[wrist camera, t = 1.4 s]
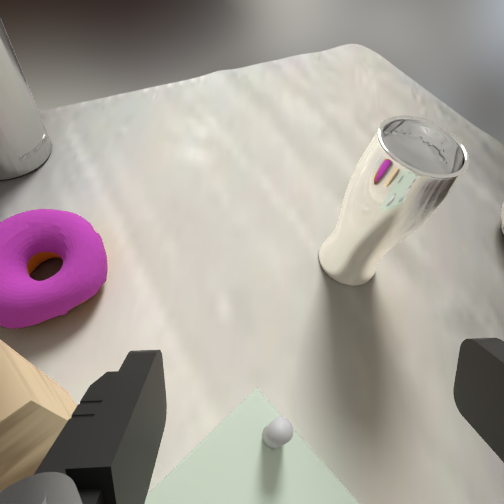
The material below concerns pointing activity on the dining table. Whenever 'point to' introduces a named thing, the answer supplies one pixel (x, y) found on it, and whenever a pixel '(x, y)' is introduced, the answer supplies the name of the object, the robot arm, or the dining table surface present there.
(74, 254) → the donut
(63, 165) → the dining table surface
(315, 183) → the dining table surface
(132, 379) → the robot arm
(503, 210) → the lidded jar
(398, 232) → the shiny metal tumbler
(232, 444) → the peg stand
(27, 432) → the oak block
